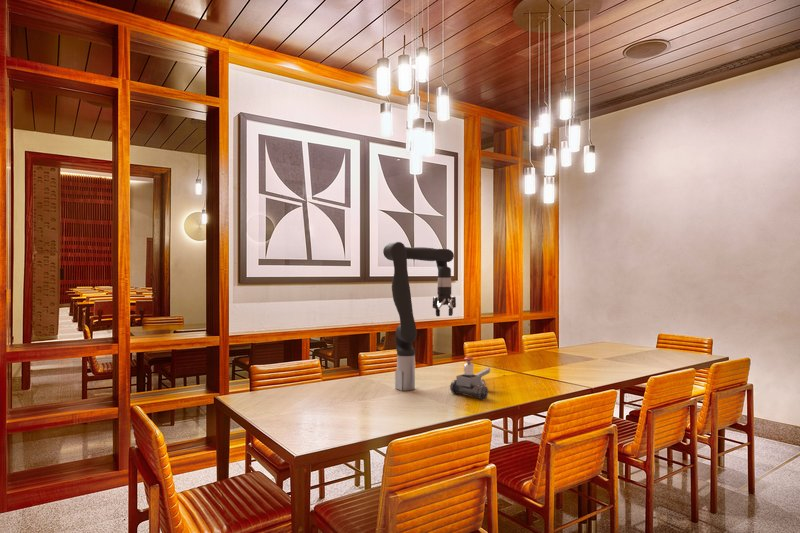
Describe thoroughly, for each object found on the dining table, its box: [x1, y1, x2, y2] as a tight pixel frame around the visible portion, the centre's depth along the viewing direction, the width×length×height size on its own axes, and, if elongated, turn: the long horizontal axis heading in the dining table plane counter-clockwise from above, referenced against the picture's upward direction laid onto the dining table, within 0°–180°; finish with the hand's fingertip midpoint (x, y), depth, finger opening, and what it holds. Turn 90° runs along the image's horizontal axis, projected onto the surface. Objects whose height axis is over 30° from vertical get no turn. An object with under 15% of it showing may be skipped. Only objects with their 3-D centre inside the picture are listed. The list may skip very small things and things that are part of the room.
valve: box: [463, 357, 474, 378], centre depth 238 cm, size 4×4×12 cm
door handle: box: [474, 366, 491, 387], centre depth 257 cm, size 18×8×20 cm
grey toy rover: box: [449, 373, 489, 401], centre depth 237 cm, size 18×8×10 cm, turn 43°
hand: (444, 316), depth 266 cm, fingers open, 8 cm apart
